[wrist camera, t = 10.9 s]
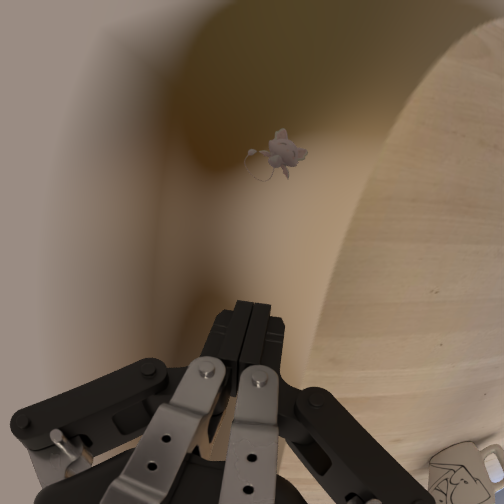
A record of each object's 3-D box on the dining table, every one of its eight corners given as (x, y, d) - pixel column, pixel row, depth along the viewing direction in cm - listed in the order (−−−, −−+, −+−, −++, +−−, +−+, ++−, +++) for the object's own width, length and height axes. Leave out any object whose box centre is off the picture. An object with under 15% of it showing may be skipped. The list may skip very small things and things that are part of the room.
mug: (505, 416, 19) (524, 484, 10) (497, 440, 22) (511, 497, 13) (417, 455, 23) (424, 528, 15) (424, 472, 26) (429, 531, 17)
